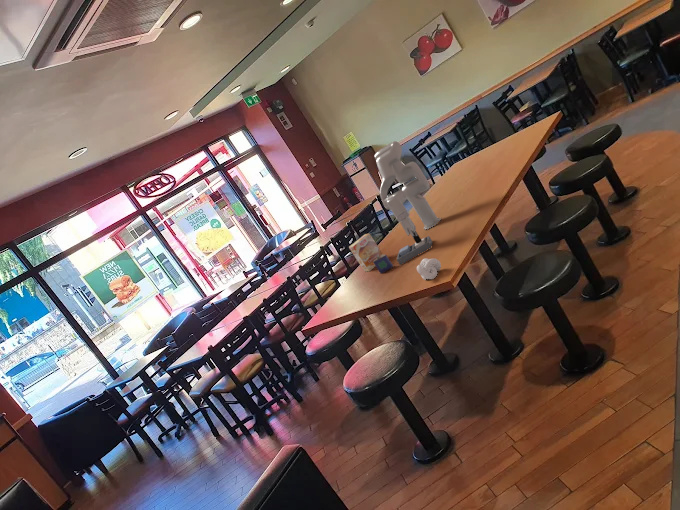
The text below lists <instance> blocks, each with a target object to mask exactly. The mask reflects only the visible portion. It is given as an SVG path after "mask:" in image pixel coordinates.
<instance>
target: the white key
mask: <svg viewBox="0 0 680 510" xmlns="http://www.w3.org/2000/svg"><path fill="white" fill-rule="evenodd" d="M424 238H425V237H423V238H421V242H419V243H418V244H417V243H416V242H414V244H415V248H418V247H420V246H422V245H423V244H425V243H427V242H426V240H425V239H424Z"/></svg>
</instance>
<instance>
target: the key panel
mask: <svg viewBox="0 0 680 510" xmlns="http://www.w3.org/2000/svg"><path fill="white" fill-rule="evenodd" d="M423 238H424V239H425V240H426V242H427V243H425V244H423V245H422V246H420V247H418V248H415V243H413V244H412V245H409V246H410V248H411V252H409V253H407V254H405V255H403V256H402V257H401V255H400V254H399V251H398V253H397V257H396V261H397V264H399V265H400V266H402V265H404V264H405V263H407V262H409V261H411V260H412V258H413V257H415V256H417V255H418V254H420V253H422V252H424V251H426V250H427V249H429V248H431V246H432V247H433V240H432V239H431V237H430V235H427V236H426V237H423ZM431 249H432V248H431ZM429 250H430V249H429ZM426 252H427V251H426ZM424 253H425V252H424ZM422 254H423V253H422ZM420 255H421V254H420ZM418 256H419V255H418ZM418 256H417V257H418ZM415 258H416V257H415ZM410 259H411V260H410ZM413 259H414V258H413ZM408 260H409V261H408ZM406 261H407V262H406ZM403 263H404V264H403ZM401 264H402V265H401Z"/></svg>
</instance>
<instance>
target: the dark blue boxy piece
mask: <svg viewBox="0 0 680 510" xmlns="http://www.w3.org/2000/svg"><path fill="white" fill-rule="evenodd" d="M373 263H374V264H375V267H376V269H377V270H378V272H379V273H380V274H381V275H382V274H384V273H387V272H388V271H390V270H391V269H392V268H393V269H394V265H393V263H392V262H391V260H390V259H389V256H387V254H383V256H381V257H379V255H378V256H377V259H375V260H374V261H373Z"/></svg>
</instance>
